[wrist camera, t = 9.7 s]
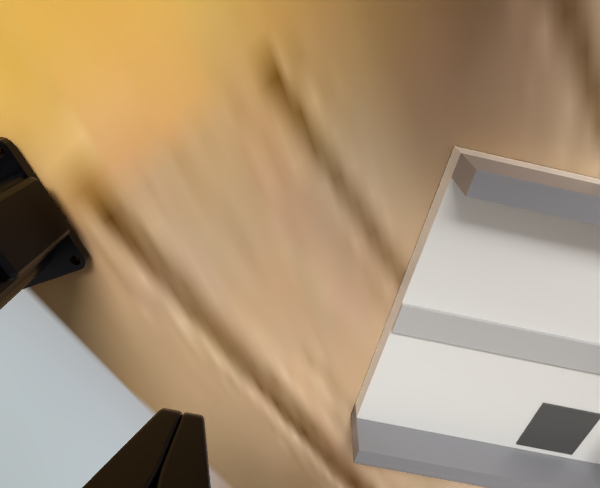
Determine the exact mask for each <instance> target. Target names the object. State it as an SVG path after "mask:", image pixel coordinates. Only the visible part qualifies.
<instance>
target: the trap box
mask: <svg viewBox="0 0 600 488" xmlns="http://www.w3.org/2000/svg"><path fill="white" fill-rule="evenodd" d="M351 427H352V443H353V458H354V463H358V464H363V465H369V466H374V467H380V468H385V469H390V470H396V471H401V472H407V473H412V474H418V475H423V476H428V477H434V478H439V479H445V480H450V481H455V482H461V483H466V484H472V485H477V486H482V487H488V488H600V179H598V178H593V177H589V176H584V175H580V174H576V173H571V172H567V171H562V170H558V169H554V168H549V167H545V166H540V165H536V164H532V163H527V162H523V161H518V160H514V159H510V158H505V157H501V156H496V155H492V154H488V153H483V152H479V151H475V150H470V149H466V148H461V147H457V146H454V148H453V151H452V153H451V156H450V158H449V161H448V164H447V166H446V169H445V171H444V174H443V177H442V179H441V182H440V184H439V187H438V190H437V192H436V195H435V197H434V200H433V203H432V205H431V208H430V210H429V213H428V216H427V218H426V221H425V223H424V226H423V229H422V231H421V234H420V236H419V239H418V242H417V244H416V247H415V249H414V252H413V255H412V257H411V260H410V262H409V265H408V268H407V270H406V273H405V275H404V278H403V281H402V283H401V286H400V288H399V291H398V294H397V296H396V299H395V301H394V304H393V307H392V309H391V312H390V314H389V317H388V320H387V322H386V325H385V328H384V330H383V333H382V335H381V338H380V341H379V343H378V346H377V348H376V351H375V354H374V356H373V359H372V361H371V364H370V367H369V369H368V372H367V374H366V377H365V380H364V382H363V385H362V387H361V390H360V393H359V395H358V398H357V400H356V403H355V406H354V408H353V411H352V413H351Z"/></svg>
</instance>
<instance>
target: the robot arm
mask: <svg viewBox="0 0 600 488" xmlns="http://www.w3.org/2000/svg"><path fill="white" fill-rule="evenodd" d="M0 147H2V148H3V149H4V151H5V154H3V153H2V152H1V151H0V309H1V308H2V307H3V306H4V305H6V304H7V303H8V302H9V301H10V300H11V299H12V298H13V297H14V296H15V295H16V294H18V293H19V292H20V291H21V290H22V289H24V288H27V287H30V286H33V285H36V284H39V283H42V282H45V281H48V280H51V279H54V278H56V277H59V276H62V275H65V274H68V273H71V272H74V271H77V270H80V269H82V268H84V267H85V266H86V265H87V263H88V262H89V260H90V257H89V254H88V253H87V251H86V250H85V248H84V247H83V245H82V244H81V242H80V241H79V239H78V238H77V236H76V235H75V233H74V232H73V230H72V229H71V227H70V226H69V224H68V223H67V221H66V220H65V219H64V217H63V216H62V214H61V213H60V211H59V210H58V208H57V207H56V205H55V204H54V202H53V201H52V199H51V198H50V196H49V195H48V193H47V192H46V191H45V189H44V188H43V186H42V185H41V183H40V182H39V180H38V179H37V177H36V176H35V174H34V173H33V172H32V170H31V169H30V167H29V166H28V164H27V163H26V161H25V160H24V158H23V157H22V155H21V154H20V152H19V151H18V149H17V148H16V147H15V145H14V144H13V143H12V142H11V141H10V140H8V139H7V138H3V137H0ZM74 256H77V257H78V258H79V259H80V261H79V260H76V259H75V257H74ZM83 488H211V486H210V475H209V465H208V454H207V444H206V433H205V422H204V417H203V416H202V415H198V414H193V413H184V414H183V415H182V412H180V411H177V410H172V409H166V408H163V409H161V410H160V411H158V412H157V413H156V414H155V415H154V416H153V417H152V418H151V419H150V420H149V421H148V422H147V424H145V425H144V426H143V427H142V428H141V429H140V431H138V432H137V433H136V434H135V435H134V436H133V437H132V438H131V439H130V440H129V441H128V442H127V444H125V445H124V446H123V447H122V448H121V449H120V450H119V451H118V452H117V454H115V455H114V456H113V457H112V458H111V460H109V461H108V463H107V464H106V465H104V467H103V468H101V469H100V470H99V471H98V472H97V474H95V475H94V476H93V477H92V479H91V480H90V481H89V482H88V483H87V484H86V485H85V486H84V487H83Z"/></svg>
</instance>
